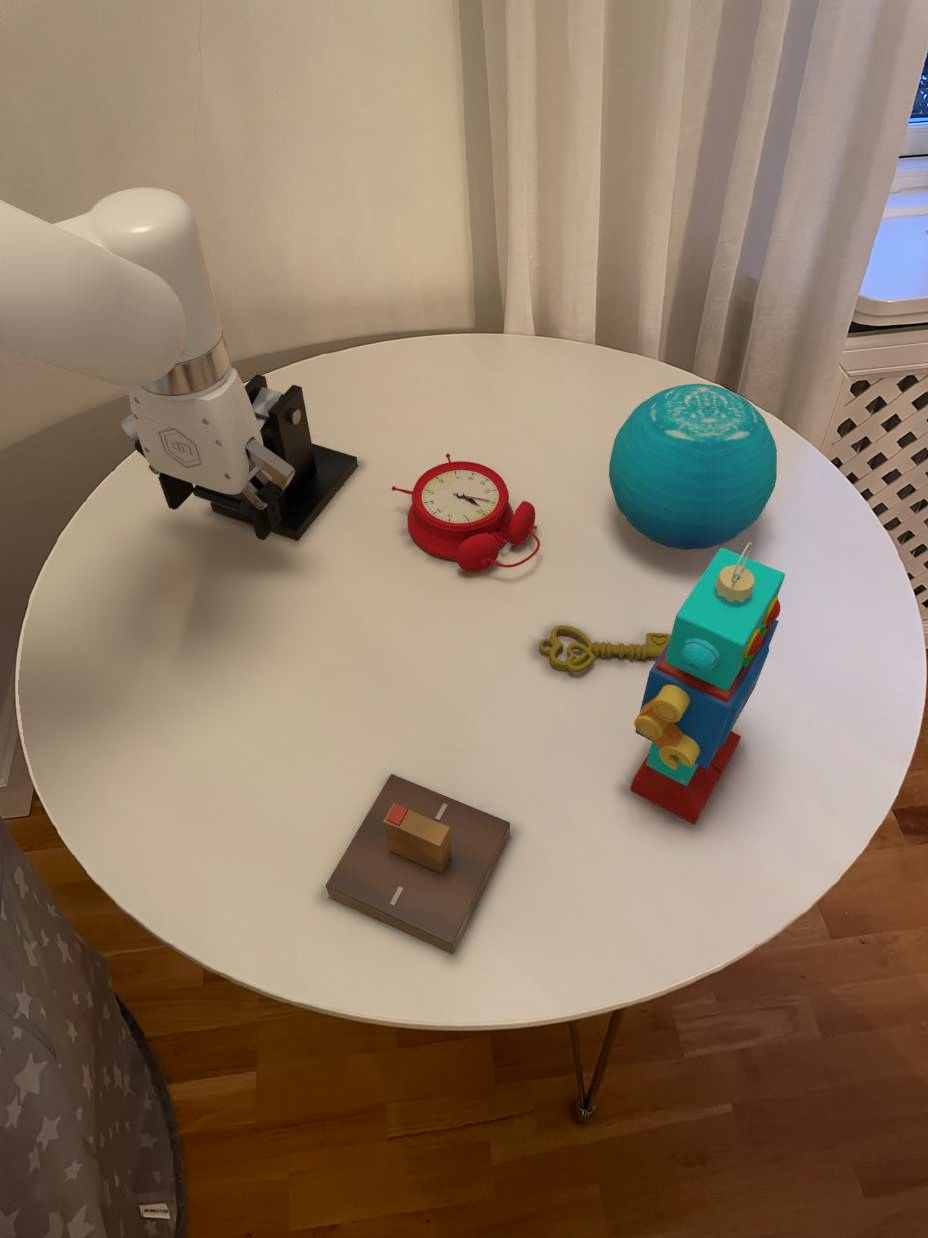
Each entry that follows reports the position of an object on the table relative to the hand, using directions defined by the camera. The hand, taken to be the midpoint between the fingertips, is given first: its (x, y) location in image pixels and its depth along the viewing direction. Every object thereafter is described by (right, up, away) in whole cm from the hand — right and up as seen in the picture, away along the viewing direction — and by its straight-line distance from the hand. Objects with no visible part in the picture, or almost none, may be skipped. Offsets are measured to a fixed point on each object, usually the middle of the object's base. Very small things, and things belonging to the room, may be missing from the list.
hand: (225, 514), depth 87 cm
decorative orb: (+43, -1, +5) cm, 43 cm away
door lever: (+2, +6, +1) cm, 6 cm away
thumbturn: (+19, -27, -19) cm, 38 cm away
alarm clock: (+23, -1, +5) cm, 23 cm away
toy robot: (+39, -22, -12) cm, 47 cm away
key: (+35, -13, -5) cm, 37 cm away
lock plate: (+19, -28, -18) cm, 38 cm away
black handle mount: (+4, +4, +9) cm, 10 cm away
